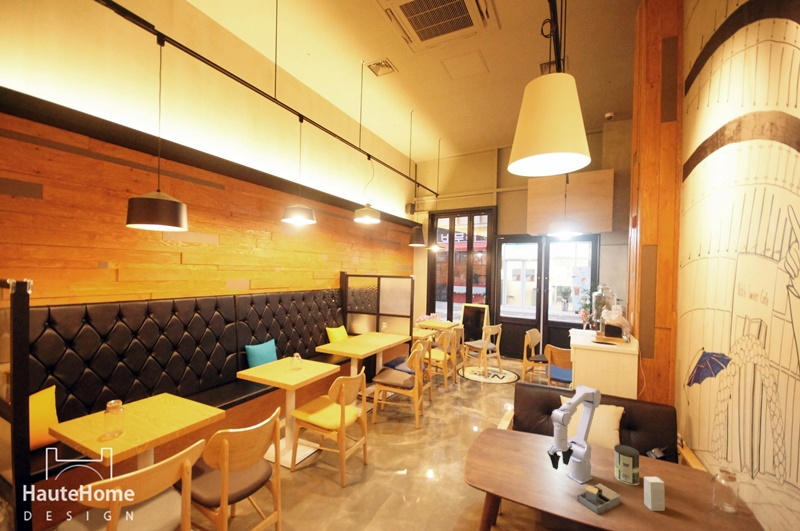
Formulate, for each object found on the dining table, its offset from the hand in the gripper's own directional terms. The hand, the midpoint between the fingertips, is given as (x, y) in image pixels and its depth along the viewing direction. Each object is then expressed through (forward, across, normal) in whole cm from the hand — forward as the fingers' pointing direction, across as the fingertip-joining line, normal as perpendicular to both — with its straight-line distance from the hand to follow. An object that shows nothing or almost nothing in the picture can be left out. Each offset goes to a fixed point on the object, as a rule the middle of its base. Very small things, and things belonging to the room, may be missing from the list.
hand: (560, 466), depth 155 cm
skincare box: (+10, -25, +27) cm, 38 cm away
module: (+9, -2, +14) cm, 17 cm away
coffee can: (+10, -36, +10) cm, 39 cm away
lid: (+7, -11, +14) cm, 19 cm away
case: (+10, -6, +14) cm, 18 cm away
